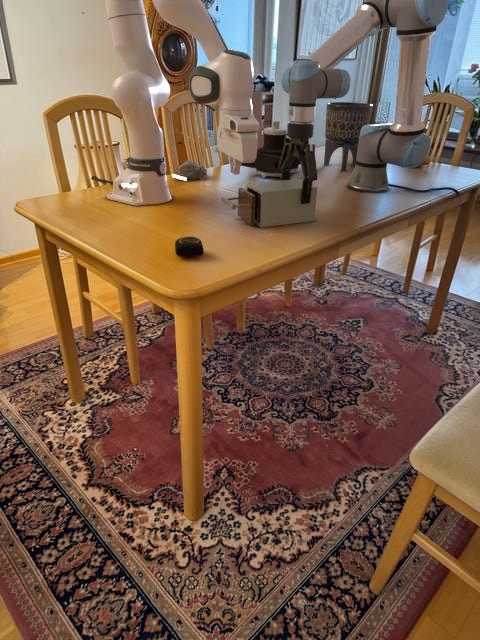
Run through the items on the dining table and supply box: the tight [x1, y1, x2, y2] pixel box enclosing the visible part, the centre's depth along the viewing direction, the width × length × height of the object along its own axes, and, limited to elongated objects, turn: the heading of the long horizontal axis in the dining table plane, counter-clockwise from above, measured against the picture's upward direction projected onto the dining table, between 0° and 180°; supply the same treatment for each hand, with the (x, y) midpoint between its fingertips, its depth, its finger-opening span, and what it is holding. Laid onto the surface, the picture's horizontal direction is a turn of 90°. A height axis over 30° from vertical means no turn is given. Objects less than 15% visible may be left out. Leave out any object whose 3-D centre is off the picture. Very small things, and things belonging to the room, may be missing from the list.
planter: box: [323, 101, 374, 172], centre depth 204 cm, size 20×20×26 cm
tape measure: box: [174, 236, 205, 258], centre depth 113 cm, size 7×7×4 cm
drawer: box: [220, 187, 261, 226], centre depth 136 cm, size 23×10×8 cm, turn 113°
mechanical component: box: [241, 120, 301, 179], centre depth 191 cm, size 22×21×30 cm
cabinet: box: [246, 178, 318, 228], centre depth 139 cm, size 18×11×10 cm, turn 113°
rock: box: [175, 159, 208, 182], centre depth 183 cm, size 13×9×6 cm, turn 131°
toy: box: [417, 157, 432, 168], centre depth 216 cm, size 11×6×15 cm
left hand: (234, 173), depth 128 cm, fingers closed
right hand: (294, 197), depth 140 cm, fingers open, 12 cm apart
